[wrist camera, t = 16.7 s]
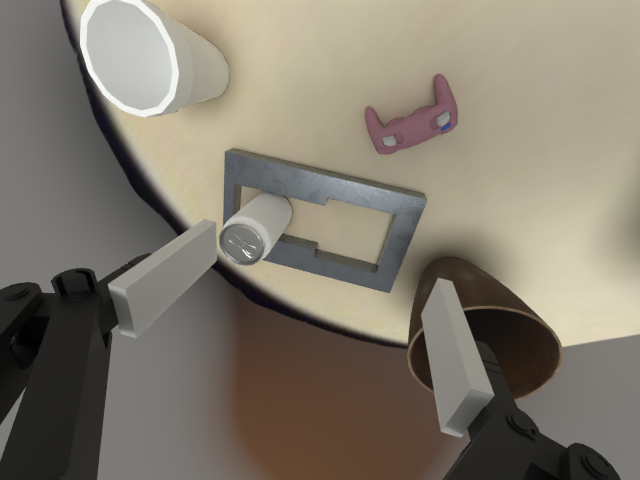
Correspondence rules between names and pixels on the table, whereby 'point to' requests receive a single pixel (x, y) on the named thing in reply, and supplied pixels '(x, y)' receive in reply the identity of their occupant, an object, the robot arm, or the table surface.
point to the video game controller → (415, 122)
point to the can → (255, 228)
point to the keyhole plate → (317, 190)
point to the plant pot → (489, 328)
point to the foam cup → (148, 58)
